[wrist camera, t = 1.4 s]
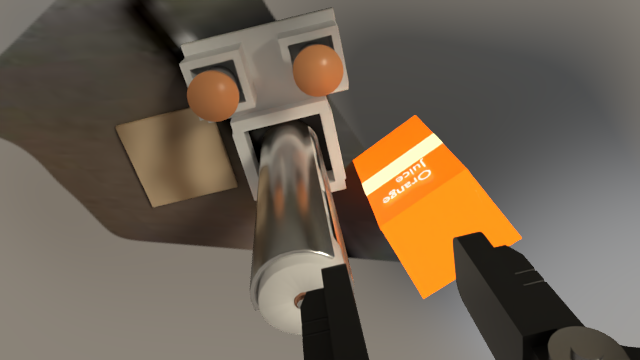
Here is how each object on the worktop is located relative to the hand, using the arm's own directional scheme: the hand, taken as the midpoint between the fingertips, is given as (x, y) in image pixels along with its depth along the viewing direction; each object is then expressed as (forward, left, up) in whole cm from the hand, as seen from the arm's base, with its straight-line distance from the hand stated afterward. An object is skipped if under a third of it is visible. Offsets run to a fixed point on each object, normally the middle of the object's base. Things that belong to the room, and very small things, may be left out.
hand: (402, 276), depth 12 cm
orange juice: (-7, +15, -35) cm, 39 cm away
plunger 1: (+9, 0, -31) cm, 32 cm away
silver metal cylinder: (+5, +10, -35) cm, 37 cm away
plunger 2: (0, 0, -31) cm, 31 cm away
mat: (+17, +8, -35) cm, 40 cm away
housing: (+4, +6, -35) cm, 36 cm away
